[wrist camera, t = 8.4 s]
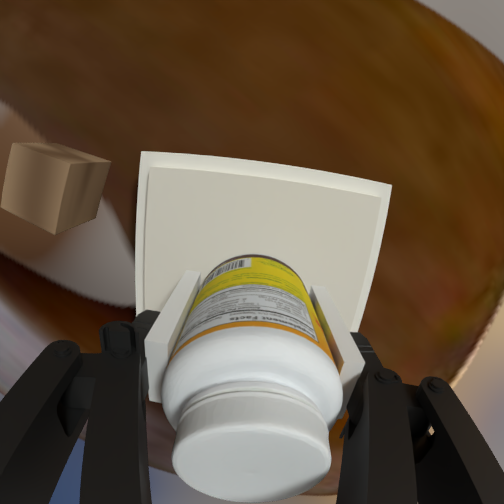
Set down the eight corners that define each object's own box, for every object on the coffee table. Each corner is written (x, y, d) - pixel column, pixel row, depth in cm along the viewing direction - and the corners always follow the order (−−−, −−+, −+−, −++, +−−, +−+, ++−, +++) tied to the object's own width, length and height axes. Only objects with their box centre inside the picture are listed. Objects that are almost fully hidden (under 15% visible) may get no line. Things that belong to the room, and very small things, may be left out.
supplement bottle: (280, 357, 17) (298, 520, 7) (187, 325, 16) (128, 484, 6) (324, 272, 15) (409, 423, 5) (221, 232, 15) (158, 361, 5)
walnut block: (44, 195, 18) (0, 206, 13) (57, 143, 17) (12, 142, 12) (95, 218, 19) (55, 235, 14) (111, 161, 18) (70, 163, 13)
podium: (149, 347, 21) (137, 370, 18) (154, 152, 17) (137, 150, 15) (331, 367, 22) (340, 392, 19) (376, 182, 18) (396, 186, 15)
